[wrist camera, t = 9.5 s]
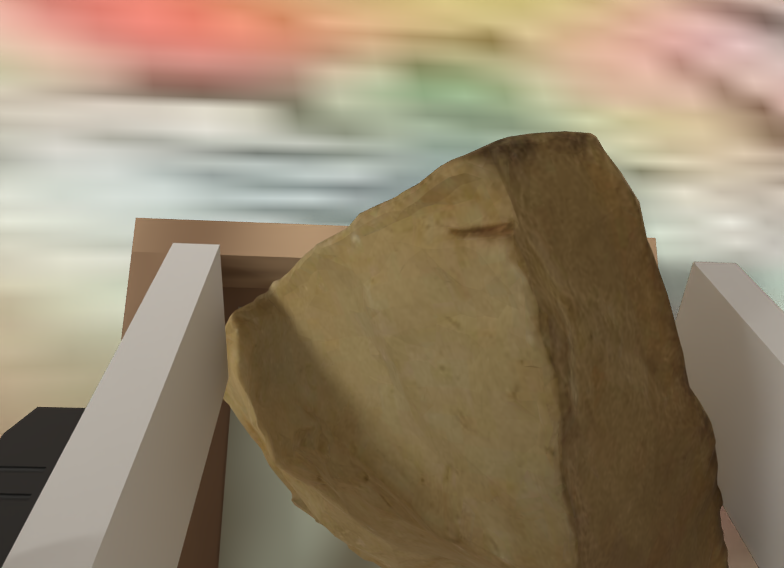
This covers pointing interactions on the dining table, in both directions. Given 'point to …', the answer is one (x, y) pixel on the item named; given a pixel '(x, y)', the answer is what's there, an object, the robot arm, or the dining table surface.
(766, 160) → the dining table surface
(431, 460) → the rock
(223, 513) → the crate
